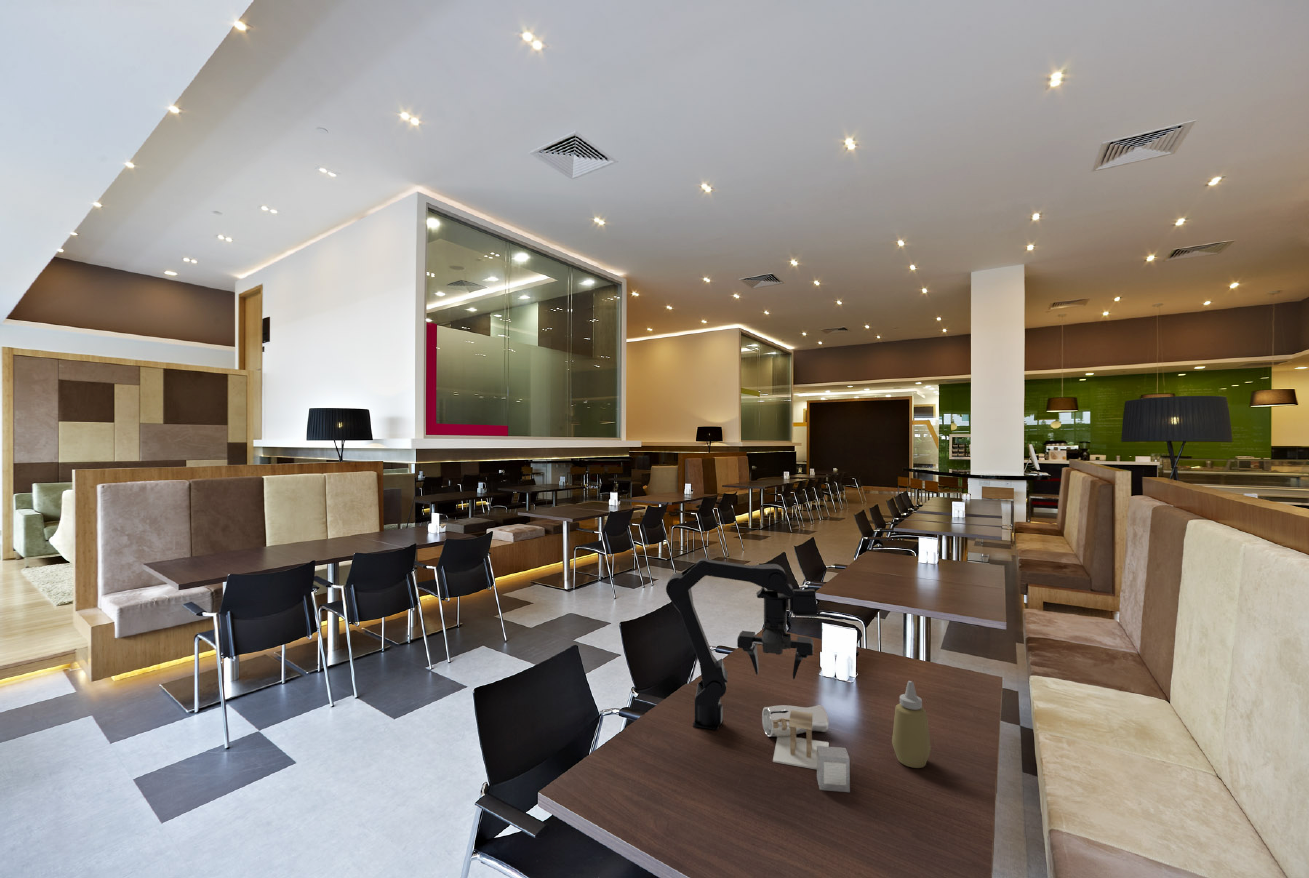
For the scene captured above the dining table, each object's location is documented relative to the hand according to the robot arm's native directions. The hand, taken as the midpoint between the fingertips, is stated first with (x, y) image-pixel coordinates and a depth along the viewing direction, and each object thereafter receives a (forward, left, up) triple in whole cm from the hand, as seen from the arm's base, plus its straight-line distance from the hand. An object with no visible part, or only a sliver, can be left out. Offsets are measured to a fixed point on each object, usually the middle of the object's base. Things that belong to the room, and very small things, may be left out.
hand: (775, 676), depth 141 cm
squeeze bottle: (+31, -6, -13) cm, 34 cm away
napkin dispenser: (+14, -21, -13) cm, 28 cm away
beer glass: (+12, +3, -10) cm, 16 cm away
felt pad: (+7, -10, -13) cm, 18 cm away
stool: (+7, -10, -13) cm, 18 cm away
